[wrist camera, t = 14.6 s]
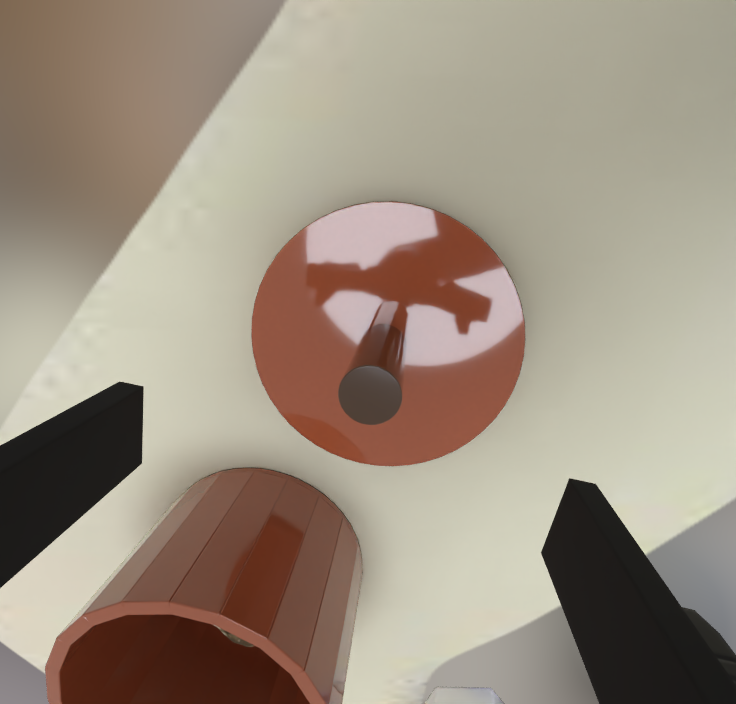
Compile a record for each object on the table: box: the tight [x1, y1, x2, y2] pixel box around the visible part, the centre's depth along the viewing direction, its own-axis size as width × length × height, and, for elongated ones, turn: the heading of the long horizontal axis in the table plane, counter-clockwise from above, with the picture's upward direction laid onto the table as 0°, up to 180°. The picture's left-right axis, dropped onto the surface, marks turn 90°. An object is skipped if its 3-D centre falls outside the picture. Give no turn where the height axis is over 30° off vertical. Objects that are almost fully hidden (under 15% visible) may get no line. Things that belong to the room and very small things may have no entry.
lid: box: [252, 201, 525, 466], centre depth 23 cm, size 17×17×9 cm
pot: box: [45, 468, 362, 704], centre depth 28 cm, size 16×16×12 cm
